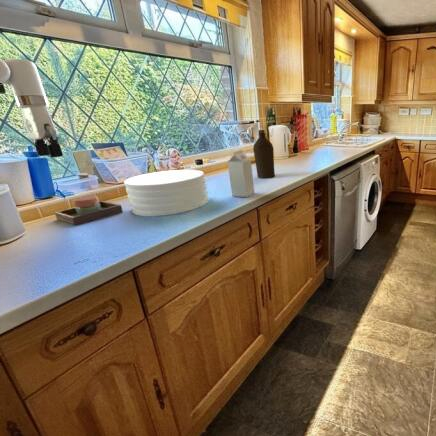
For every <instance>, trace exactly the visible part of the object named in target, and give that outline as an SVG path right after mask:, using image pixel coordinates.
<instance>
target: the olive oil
mask: <svg viewBox="0 0 436 436" xmlns="http://www.w3.org/2000/svg"><path fill="white" fill-rule="evenodd" d="M257 132H258V138H257V140H256V141H255V142H254V143H253V147H252V148H253V149H252V150H253V155H254V162H255V169H256V174H257V175H256V176H257V178H258V179H271V178H274V177H276V176H275V175H276V174H275V159H274V158H275V156H274V154H275V153H274V146H273V143H272V142H271V141H270V140H269V139H268V138H267V137H266V132H265V129H258V131H257Z"/></svg>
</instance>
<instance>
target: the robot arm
mask: <svg viewBox="0 0 436 436" xmlns="http://www.w3.org/2000/svg"><path fill="white" fill-rule="evenodd" d="M38 71H39V70H38V68H37V65H36V64H35V62H33V61H31V60H28V59H23V58H22V59H21V58H6V59H4V60H3V59H2V58H0V83H2V84H1V85H9V86H10V89H11V92H12V94H13V97H14V100H15V103H16V106H17V108H19V109H20V112H21V117H22V121H23V124H24V125H23V126H24V128H25V131H26V134H27V137H28V139H31V140H32V142H33V145H34V147H35V150H36V153H37V155H38V156H39V157H45V156H50V158H60V157H63V156H64V154H63V151H62V148H61V144H60V141H59V137H58V134H57V129H56V127H55V124H54V121H53V119H52V115H51V113H50V111H49V109H48V108H50V104H49V101H48V99H47V96H46V95H47V94H46V91H45V89H44V87H43V83H42V80H41V77H40V74H39V72H38Z"/></svg>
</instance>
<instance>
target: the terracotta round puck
mask: <svg viewBox="0 0 436 436" xmlns="http://www.w3.org/2000/svg"><path fill="white" fill-rule="evenodd" d="M99 202H100V198H99V196H98V195H94V194H93V195H92V194H91V195H84V196H78V197H75V198H73V199H72V203H73V206H74V208H75V207H78V208H89V207H93V206H96V205H97V203H99Z"/></svg>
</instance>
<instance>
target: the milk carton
mask: <svg viewBox="0 0 436 436" xmlns="http://www.w3.org/2000/svg"><path fill="white" fill-rule="evenodd" d="M232 153H233V155H232V156H231V157H230V158H229V159H228V161H227V169H228V175H229V183H230V189H231V196H232V197H237V198H248V197H251V196H253V194H255V184H254V176H253V167H252V159H251V158H250V157H249V156H247V155H246V154H245V153H244V152H243V149H240V150H237V151H233V152H232Z"/></svg>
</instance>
